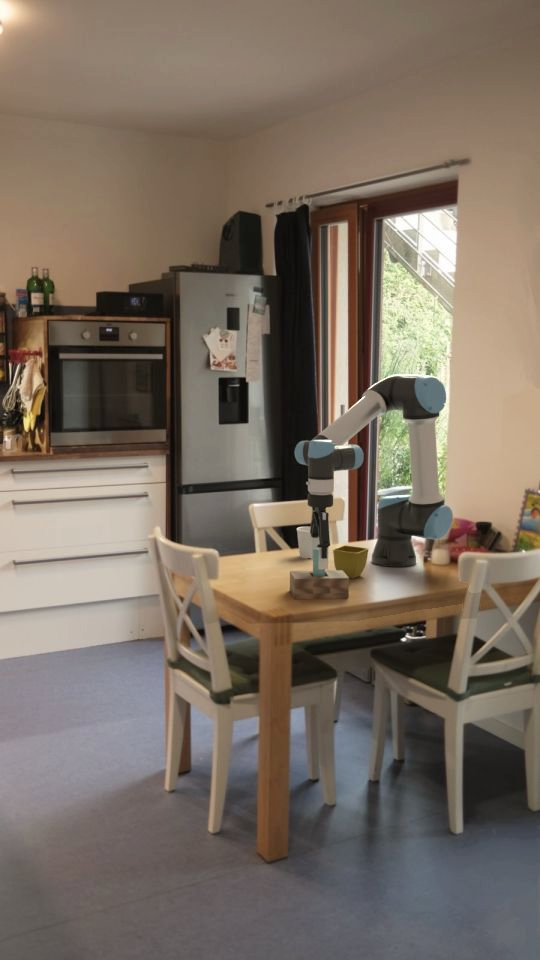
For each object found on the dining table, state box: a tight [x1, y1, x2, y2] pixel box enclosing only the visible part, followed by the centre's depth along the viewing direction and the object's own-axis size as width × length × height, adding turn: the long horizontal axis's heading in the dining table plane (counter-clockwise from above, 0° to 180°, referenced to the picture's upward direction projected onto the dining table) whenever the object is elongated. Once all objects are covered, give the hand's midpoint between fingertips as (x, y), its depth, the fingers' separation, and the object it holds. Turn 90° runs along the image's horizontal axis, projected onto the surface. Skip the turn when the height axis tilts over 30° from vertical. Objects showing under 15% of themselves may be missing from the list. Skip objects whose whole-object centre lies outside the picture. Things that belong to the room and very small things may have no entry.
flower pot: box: [332, 544, 369, 579], centre depth 313 cm, size 9×9×9 cm
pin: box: [312, 548, 326, 577], centre depth 289 cm, size 4×4×12 cm
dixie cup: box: [296, 526, 319, 559], centre depth 342 cm, size 8×8×10 cm
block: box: [289, 569, 350, 600], centre depth 290 cm, size 16×10×6 cm, turn 97°
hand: (319, 564), depth 289 cm, fingers open, 13 cm apart
